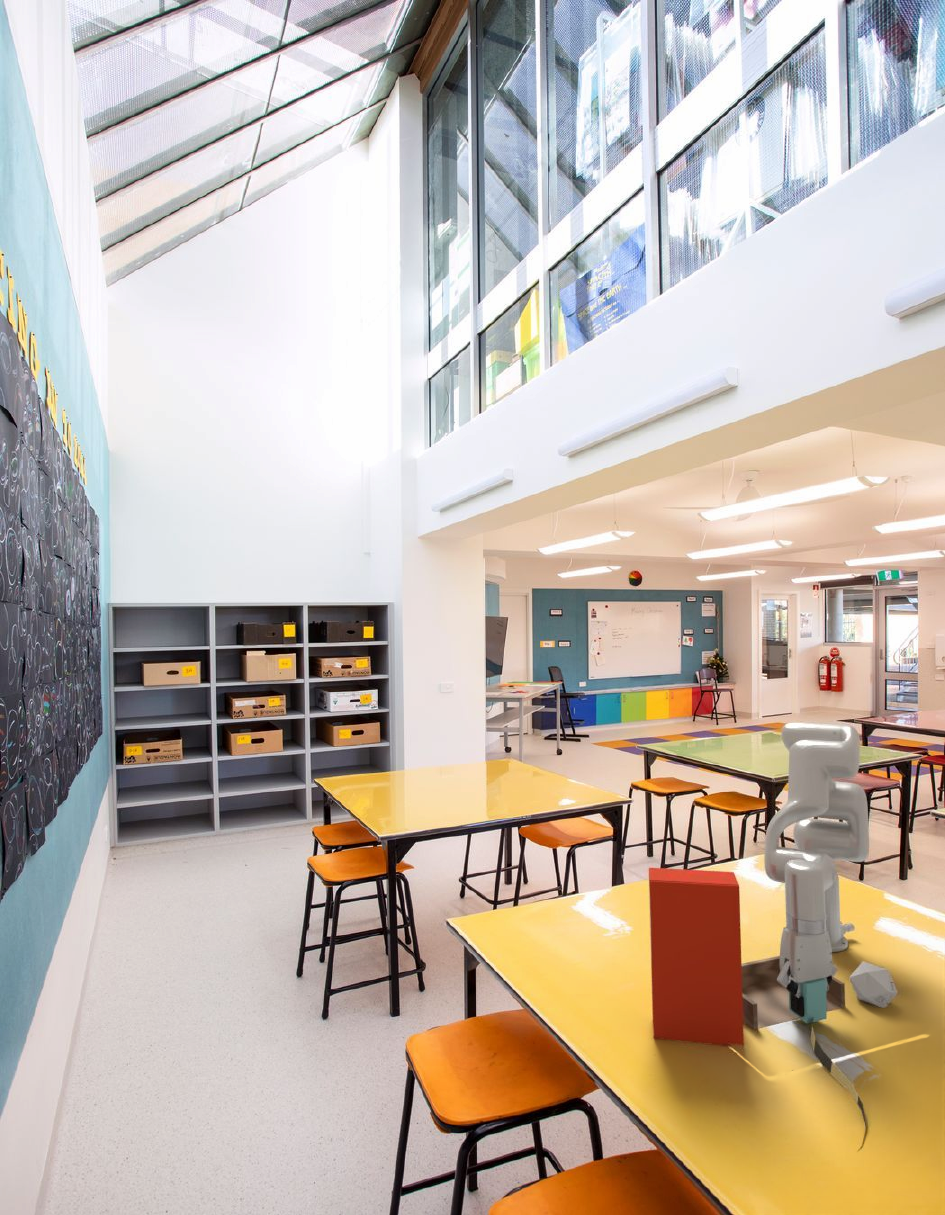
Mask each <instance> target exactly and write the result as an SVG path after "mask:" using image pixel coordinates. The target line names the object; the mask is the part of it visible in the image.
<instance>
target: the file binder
mask: <svg viewBox="0 0 945 1215" xmlns="http://www.w3.org/2000/svg"><path fill="white" fill-rule="evenodd" d="M648 887H649V888H648V891H649V893H648V894H649V896H648V897H649V899H648V900H649V929H650V930H649V933H650V934H649V935H650V936H649V937H650V966H651V967H650V968H651V969H650V970H651V972H650V973H651V1002H652V1006H651V1007H652V1029H653V1039H657V1040H658V1039H659V1040H665V1041H666V1040H668V1041H679V1042H684V1043H685V1042H686V1043H696V1044H707V1045H715V1046H716V1045H717V1046H725V1047H726V1046H727V1047H732V1045H739V1046H744V1045H745V1041H744V1039H745V1038H744V1037H745V1036H744V1021H743V1000H742V964H743V963H742V942H741V941H742V938H741V936H742V934H741V905H740V902H741V900H740V898H741V897H740V896H741V894H740V884H739V882H738V879H737V876H736V874H735V873H734V871H724V870H723V871H721V870H719V871H718V870H704V869H701V870H699V869H681V868H664V867H663V868H662V867H648Z"/></svg>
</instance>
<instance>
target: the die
mask: <svg viewBox="0 0 945 1215" xmlns="http://www.w3.org/2000/svg"><path fill="white" fill-rule="evenodd" d="M848 979H849V981H850V983H851V985H852V988H853V990H854V993H855V995H856V997H857V999H859V1001H861V1002H864V1003H868V1004H870V1005H872V1006H876V1007H878V1008H883V1009H885V1008H887V1007H888V1006H889V1004H890V1003H892V1001H893V999H894V998H895V997H896V996H897V995H898V993H899V991H898V988H897V987H896V985H895V983H894V980H893V978H892V976H891V973H890V971H889V969H887V968H884V967H881V966H878V965H875V964H873V963H869V962H866V961H862V962H861V963H860V964H859V965H858V966H857V968H856V969H855V970H854V971H853V972H852V974H850V976H849V977H848Z"/></svg>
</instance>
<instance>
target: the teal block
mask: <svg viewBox="0 0 945 1215" xmlns="http://www.w3.org/2000/svg"><path fill="white" fill-rule="evenodd" d="M796 985H797V983H795V984H794V987H795V988H796ZM801 996H802V997H803V998H804V1017H800V1016H799V1015H798V1014H796V1013H795V1012H793V1011H792V1010H791V1002H790V992H789V1011H791V1012H792V1013H793V1014H795V1015H796V1016H797V1017H799V1019H800V1020H801V1021H803V1022H804V1023H806V1024H807V1025H808V1024H812V1023H815V1022H818V1021H823V1020H827V1015H828V1014H827V1012H828V1011H827V1010H826V980H825V979H824V978H821V979H817V980H813V981H808V982H804V983H803V989H802V994H801Z"/></svg>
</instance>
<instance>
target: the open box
mask: <svg viewBox="0 0 945 1215" xmlns="http://www.w3.org/2000/svg"><path fill="white" fill-rule="evenodd" d="M741 964H742V1000H743V1023H745V1024H746V1025H747V1026H748V1027H750V1028H751V1029H752V1030H758V1029H762V1028H765V1027H770V1026H773V1025H777V1024H781V1023H782V1024H783V1023H786V1022H790V1021H794V1020H798V1019H800V1018H799V1017H797V1016H796V1015H795V1014H793V1013H792V1012H791V1011H789V991H788V990H787V989H786V988H785V987H784V986H783V985H781V984H780V983H779V982H777V978H778V976H779V974H780V955H778V956H777V955H776V956H772V957H771V956H770V957H767V958H762V959H757V960H753V961H748V962H747V961H746V962H742V963H741ZM788 981H789V978H788ZM828 986H829V990H828V991H826V1003H827V1012H830V1011H836V1010H840V1009H843V1008H846V992H845V991H846V988H845V987H846V986H845V982H843V981H841V980H839V979H838V978H836V977H834V976H833V977H832V981H831V982H830V984H829V985H828Z"/></svg>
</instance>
